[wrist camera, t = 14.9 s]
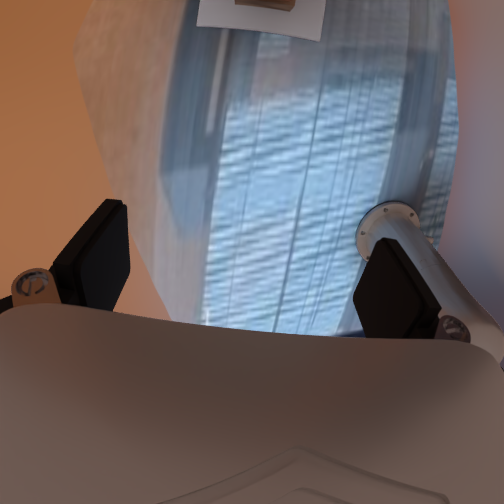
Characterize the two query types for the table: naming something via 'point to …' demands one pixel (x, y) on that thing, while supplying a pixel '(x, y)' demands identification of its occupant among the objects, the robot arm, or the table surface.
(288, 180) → the table surface
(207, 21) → the white flat block
